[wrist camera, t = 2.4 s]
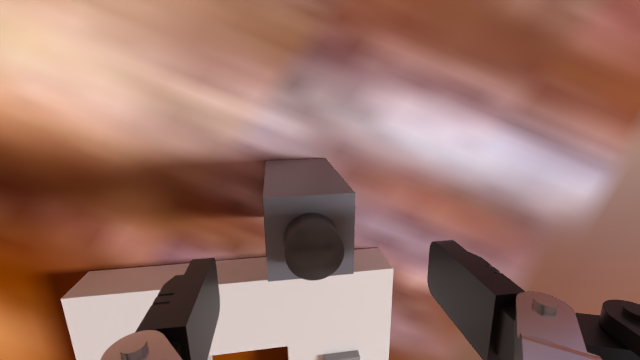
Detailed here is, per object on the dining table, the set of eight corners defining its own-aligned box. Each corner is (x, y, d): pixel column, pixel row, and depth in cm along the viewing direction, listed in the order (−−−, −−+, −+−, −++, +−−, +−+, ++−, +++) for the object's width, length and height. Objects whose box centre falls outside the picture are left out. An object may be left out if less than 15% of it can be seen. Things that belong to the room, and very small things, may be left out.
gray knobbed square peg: (268, 217, 22) (267, 302, 13) (265, 160, 21) (261, 210, 12) (325, 213, 23) (362, 292, 14) (325, 158, 22) (364, 204, 13)
